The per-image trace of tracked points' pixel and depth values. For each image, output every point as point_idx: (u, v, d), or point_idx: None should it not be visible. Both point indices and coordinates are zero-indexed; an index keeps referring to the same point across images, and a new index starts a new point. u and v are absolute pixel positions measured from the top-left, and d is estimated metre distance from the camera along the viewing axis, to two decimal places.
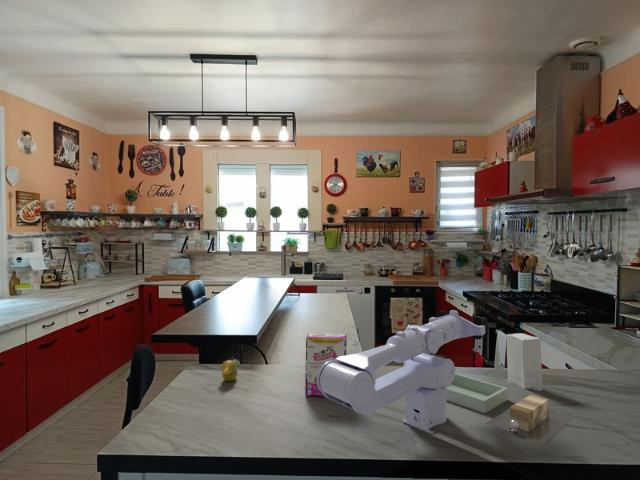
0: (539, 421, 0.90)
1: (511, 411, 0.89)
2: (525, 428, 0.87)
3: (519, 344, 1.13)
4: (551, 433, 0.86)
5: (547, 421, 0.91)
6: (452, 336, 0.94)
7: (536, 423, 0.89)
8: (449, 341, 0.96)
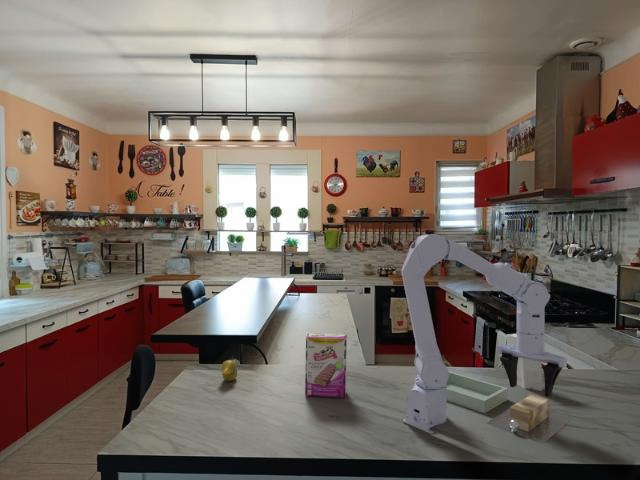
0: (539, 421, 0.90)
1: (511, 411, 0.89)
2: (525, 428, 0.87)
3: None
4: (551, 433, 0.86)
5: (547, 421, 0.91)
6: (532, 331, 0.89)
7: (536, 423, 0.89)
8: (522, 332, 0.90)
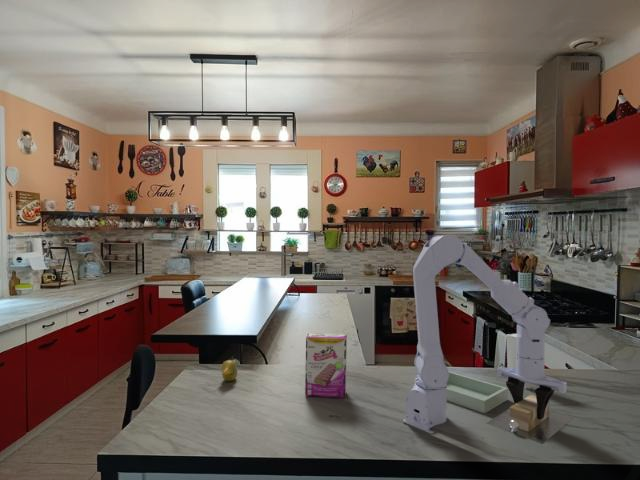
0: (539, 421, 0.90)
1: (511, 411, 0.89)
2: (525, 428, 0.87)
3: None
4: (551, 433, 0.86)
5: (547, 421, 0.91)
6: (531, 356, 0.89)
7: (536, 423, 0.89)
8: (522, 356, 0.90)
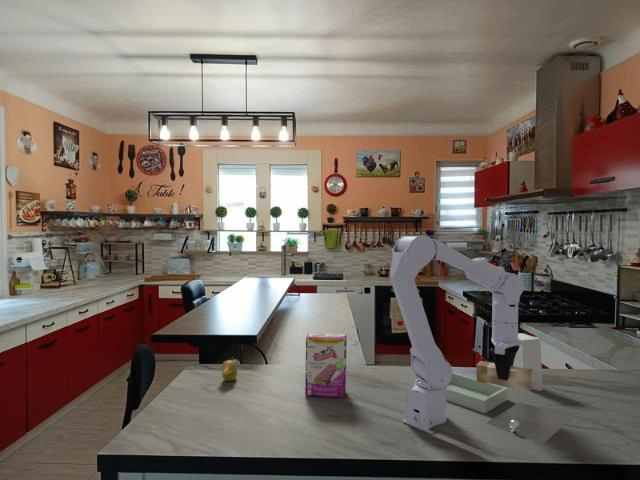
0: (503, 384, 0.95)
1: None
2: None
3: None
4: (551, 433, 0.86)
5: (547, 421, 0.91)
6: (509, 320, 0.94)
7: (496, 382, 0.96)
8: (500, 321, 0.95)
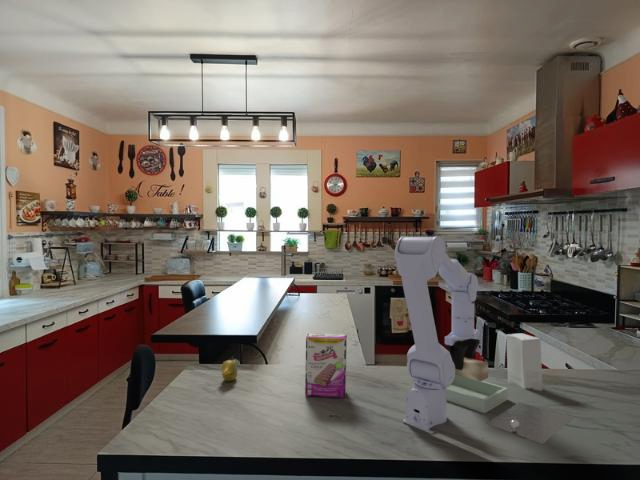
0: (459, 374, 1.05)
1: None
2: None
3: (519, 344, 1.13)
4: (551, 433, 0.86)
5: (547, 421, 0.91)
6: (471, 315, 1.04)
7: None
8: (464, 318, 1.04)
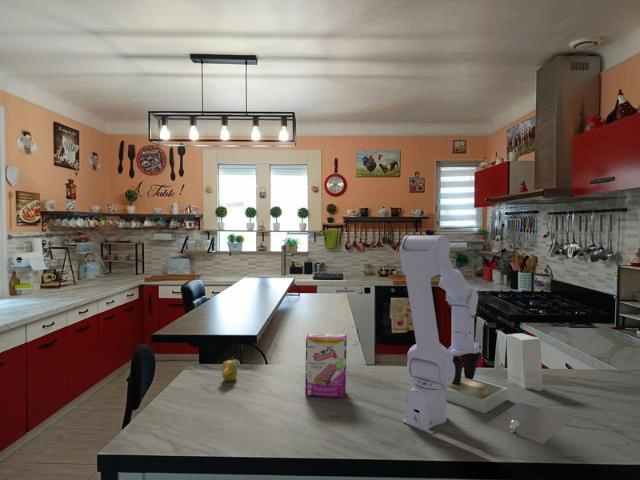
0: None
1: None
2: None
3: (519, 344, 1.13)
4: (551, 433, 0.86)
5: (547, 421, 0.91)
6: (471, 330, 1.04)
7: None
8: (464, 332, 1.04)
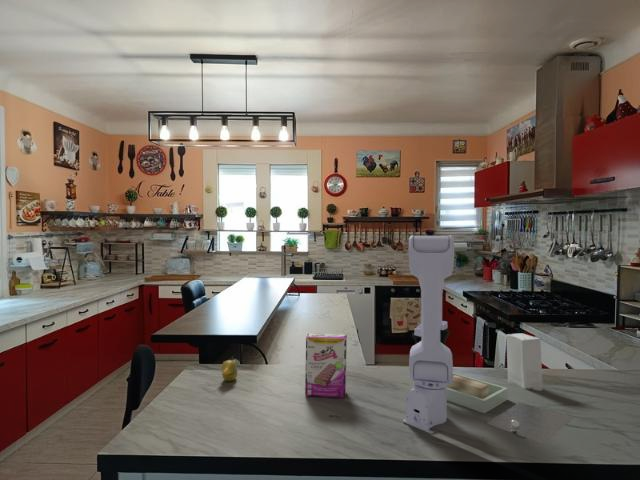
0: None
1: None
2: None
3: (519, 344, 1.13)
4: (551, 433, 0.86)
5: (547, 421, 0.91)
6: (441, 307, 1.11)
7: None
8: None
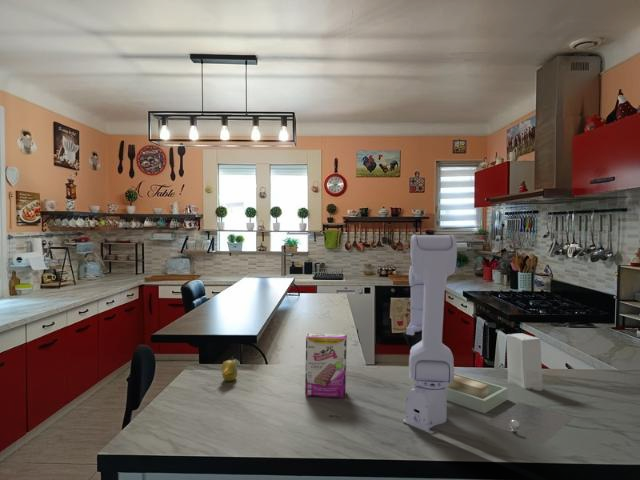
0: None
1: None
2: None
3: (519, 344, 1.13)
4: (551, 433, 0.86)
5: (547, 421, 0.91)
6: None
7: None
8: None
